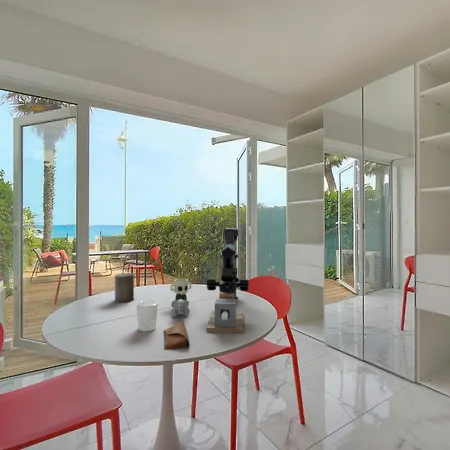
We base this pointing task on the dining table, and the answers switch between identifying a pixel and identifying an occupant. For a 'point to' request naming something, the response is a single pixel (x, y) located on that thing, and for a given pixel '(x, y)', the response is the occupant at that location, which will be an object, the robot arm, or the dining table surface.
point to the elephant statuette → (180, 307)
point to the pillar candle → (124, 287)
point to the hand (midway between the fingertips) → (226, 301)
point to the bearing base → (226, 329)
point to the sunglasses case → (176, 337)
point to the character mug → (180, 288)
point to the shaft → (225, 296)
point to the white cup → (147, 315)
